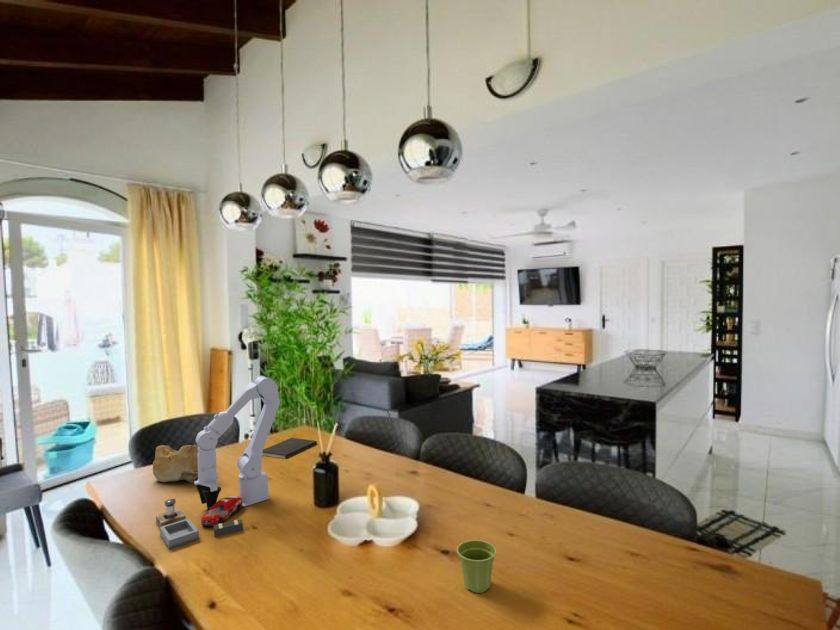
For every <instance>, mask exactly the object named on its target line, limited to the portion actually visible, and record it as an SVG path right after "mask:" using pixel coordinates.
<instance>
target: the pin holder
mask: <svg viewBox="0 0 840 630" xmlns="http://www.w3.org/2000/svg"><path fill="white" fill-rule="evenodd" d="M185 519H187V518H186V514H185V513H184V512H183V511H182V510H181V509H180V508H177V509H175V517H172V518H169V519H166V512H163V513H159V514H157V515H155V523H156V524H157V526H158V528H160V527H162V526H165V525H168V524H172V523H175V522H178V521H181V520H185Z"/></svg>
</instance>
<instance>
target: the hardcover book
mask: <svg viewBox="0 0 840 630" xmlns="http://www.w3.org/2000/svg"><path fill="white" fill-rule="evenodd" d="M316 445H318V441H317V440H314V439H305V438H297V437H290V438H288V439H284V440H283V441H280V442H278V443H275V444H274V445H271V446H268V447H266V448H263V457H264V456H265V457H270V458H271V457H272V458H278V459H284V460H286V459H289V458H291V457H293V456H295V455H297V454H299V453H302V452H303V451H306V450H307V449H310V448H312V447H314V446H316Z"/></svg>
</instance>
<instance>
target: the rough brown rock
mask: <svg viewBox="0 0 840 630" xmlns="http://www.w3.org/2000/svg"><path fill="white" fill-rule="evenodd" d="M198 446H199V445H198V444H197V443H196V444H193V445H192V444H188V445H182V446H181V447H180V448H179V449H178V450H176V449H173V448H172V447H171V446H170V445H163V444H162V445H158V446H156V447H155V453H154V454H155V455H154V460H153V462H152V474H153V476H154V478H155V479H156V480H157V481H159V482H160V483H167V482H179V481H181V480H182V481H187V482H188V483H190V482H193V483H194V482H195V481H197V480H196V479H198V456H197V454H198Z"/></svg>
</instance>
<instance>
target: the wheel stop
mask: <svg viewBox="0 0 840 630" xmlns="http://www.w3.org/2000/svg"><path fill="white" fill-rule="evenodd" d="M243 530H244V523H243V519H242V518H241V519H233V521H228V522H222V523H220V524H218V525H214V526H213V536H214V538H216V537H220V536H225V535H229V534H233V533H237V532H241V531H243Z"/></svg>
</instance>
